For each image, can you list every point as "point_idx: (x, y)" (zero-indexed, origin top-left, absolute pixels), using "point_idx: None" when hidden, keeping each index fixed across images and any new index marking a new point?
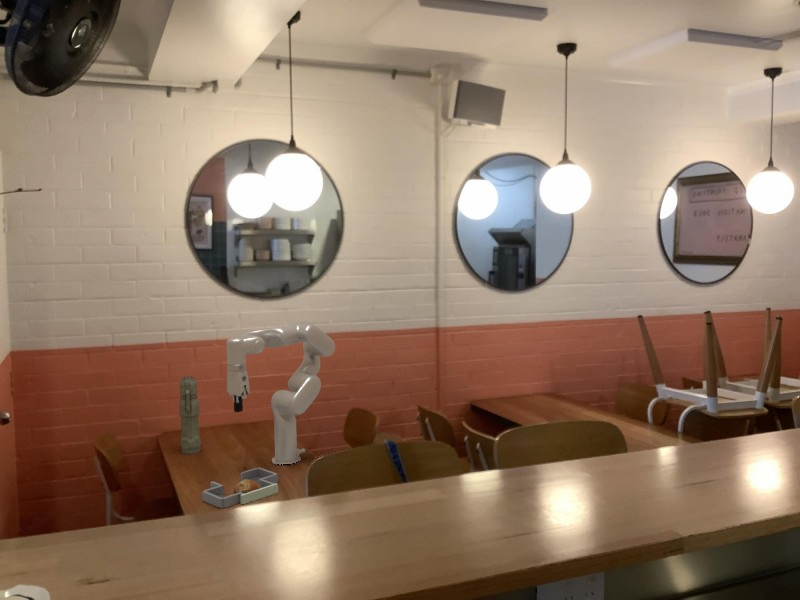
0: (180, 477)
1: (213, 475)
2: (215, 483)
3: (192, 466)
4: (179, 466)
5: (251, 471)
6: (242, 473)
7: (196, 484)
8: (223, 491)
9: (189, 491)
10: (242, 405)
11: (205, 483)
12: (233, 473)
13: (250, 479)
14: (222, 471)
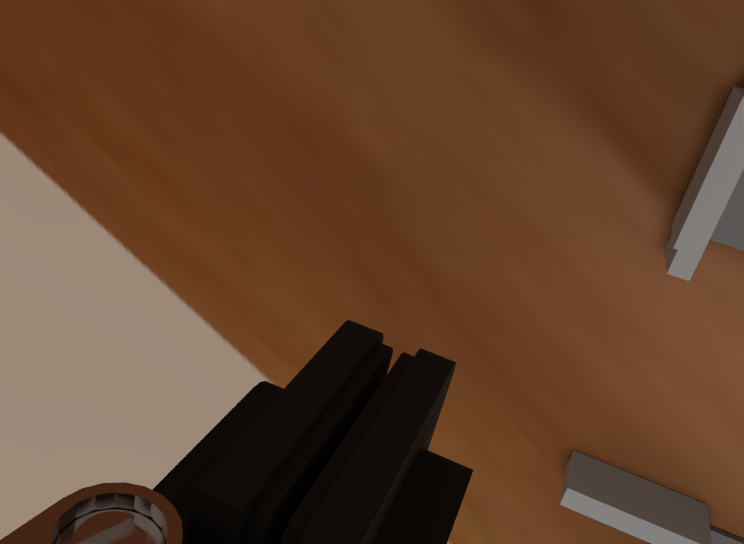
0: (219, 314)
1: (373, 210)
2: (618, 522)
3: (116, 109)
4: (56, 145)
5: (734, 181)
6: (691, 276)
7: None
8: (707, 521)
9: None
10: (404, 453)
11: None
12: (482, 112)
13: (741, 206)
14: (370, 109)
